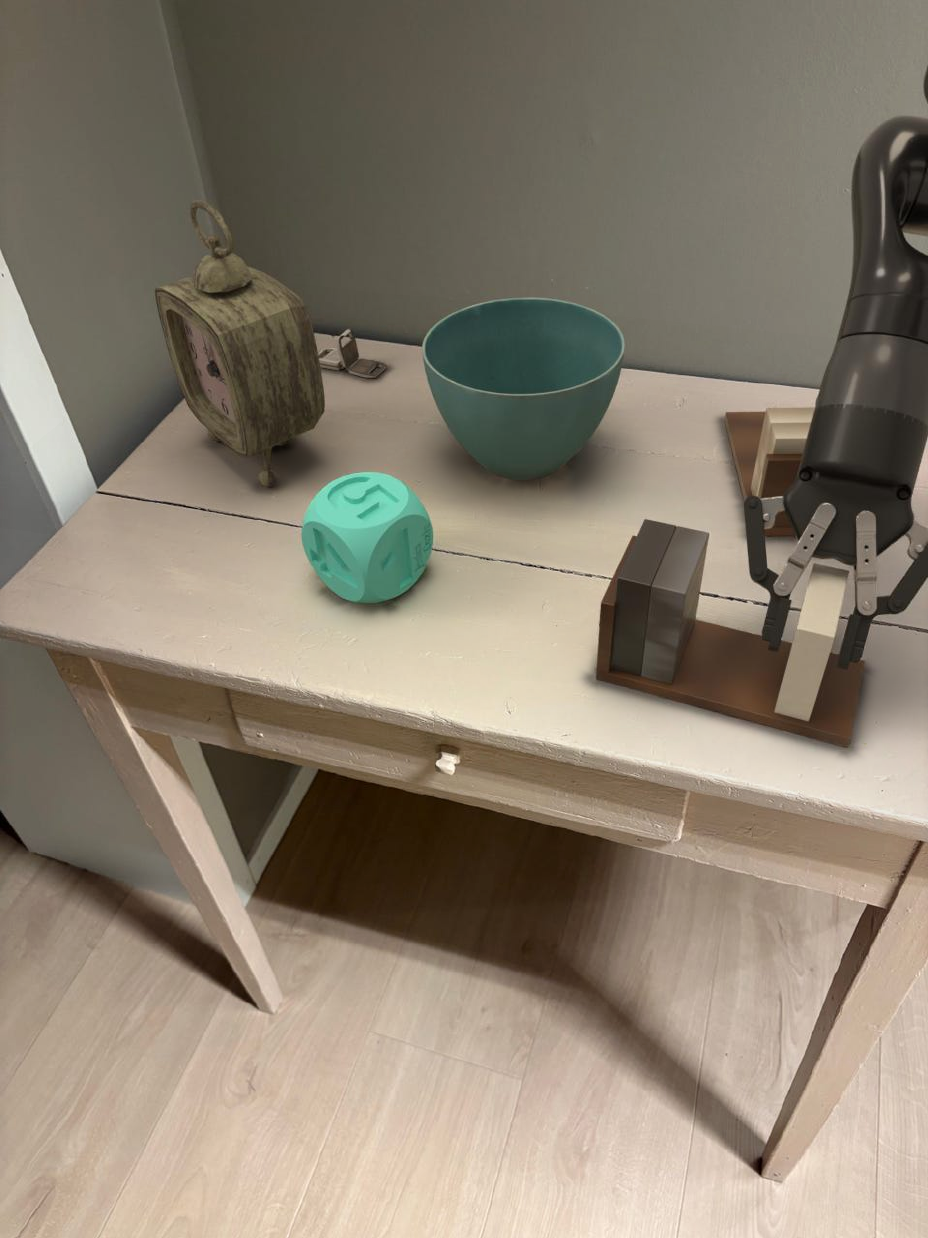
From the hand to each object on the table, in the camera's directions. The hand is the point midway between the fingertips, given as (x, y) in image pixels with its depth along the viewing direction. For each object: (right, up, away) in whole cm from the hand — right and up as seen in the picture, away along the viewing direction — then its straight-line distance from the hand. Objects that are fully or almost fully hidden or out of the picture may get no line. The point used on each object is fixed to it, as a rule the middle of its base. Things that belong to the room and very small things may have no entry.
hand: (807, 658), depth 66 cm
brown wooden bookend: (-4, -1, +7) cm, 8 cm away
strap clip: (-37, +31, +43) cm, 65 cm away
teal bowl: (-18, +19, +29) cm, 39 cm away
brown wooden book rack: (+6, +16, +25) cm, 30 cm away
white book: (+1, -2, +4) cm, 5 cm away
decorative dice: (-32, +7, +17) cm, 37 cm away
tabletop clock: (-44, +20, +32) cm, 58 cm away
